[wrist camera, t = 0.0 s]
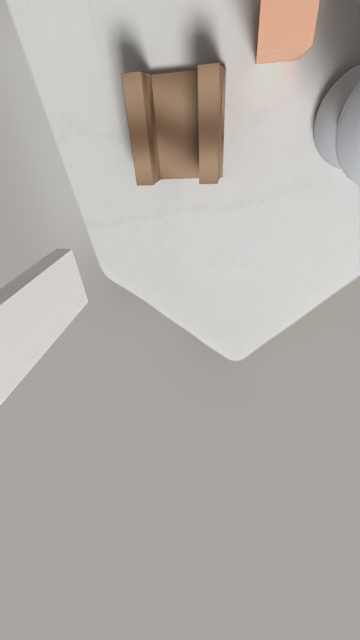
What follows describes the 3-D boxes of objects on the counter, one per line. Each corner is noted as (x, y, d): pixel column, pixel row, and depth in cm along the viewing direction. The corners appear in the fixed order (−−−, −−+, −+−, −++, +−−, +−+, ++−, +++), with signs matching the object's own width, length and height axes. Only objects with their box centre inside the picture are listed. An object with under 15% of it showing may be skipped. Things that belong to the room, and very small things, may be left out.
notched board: (133, 77, 30) (118, 73, 27) (225, 67, 28) (222, 62, 25) (145, 178, 36) (134, 185, 33) (222, 176, 34) (219, 183, 31)
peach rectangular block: (260, 4, 25) (263, -29, 19) (307, -3, 24) (326, -40, 18) (256, 64, 28) (256, 51, 21) (298, 59, 27) (312, 45, 21)
